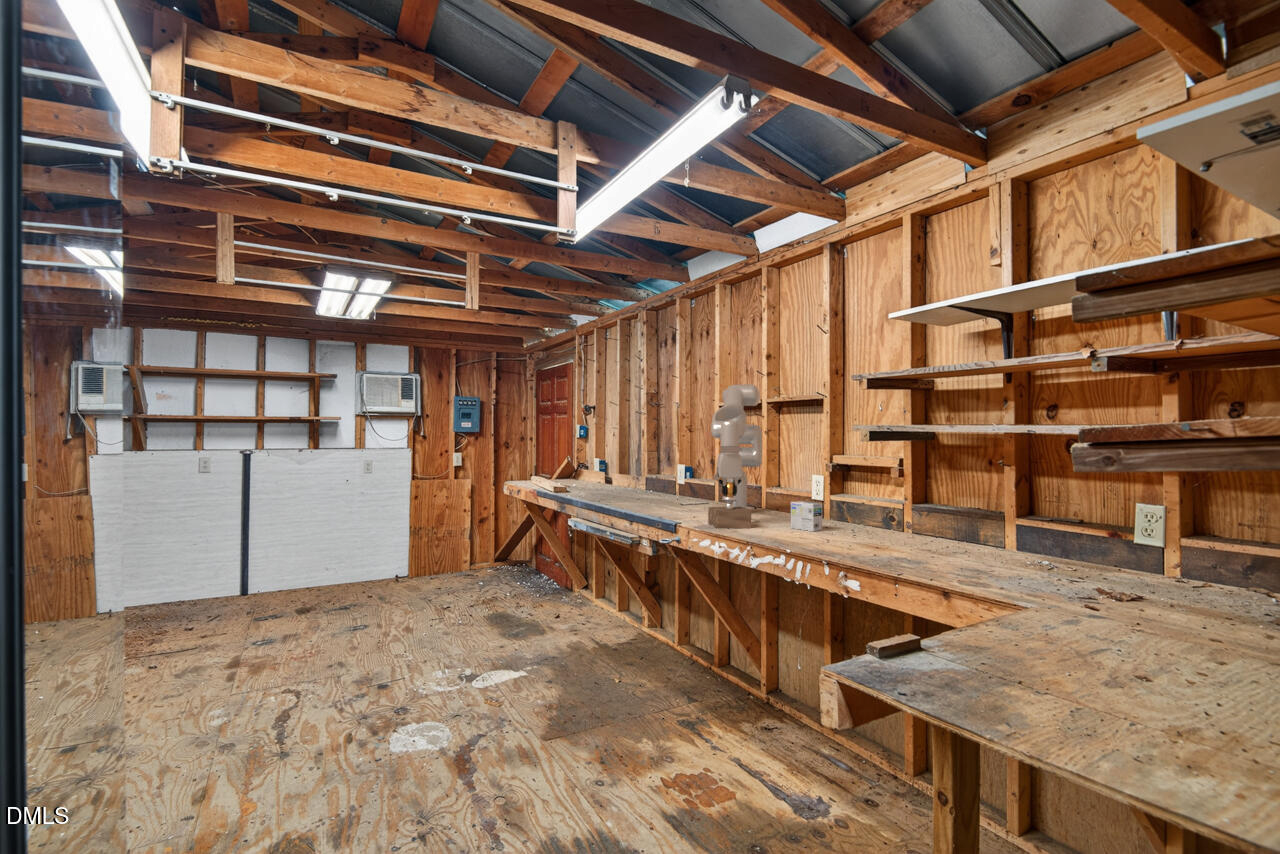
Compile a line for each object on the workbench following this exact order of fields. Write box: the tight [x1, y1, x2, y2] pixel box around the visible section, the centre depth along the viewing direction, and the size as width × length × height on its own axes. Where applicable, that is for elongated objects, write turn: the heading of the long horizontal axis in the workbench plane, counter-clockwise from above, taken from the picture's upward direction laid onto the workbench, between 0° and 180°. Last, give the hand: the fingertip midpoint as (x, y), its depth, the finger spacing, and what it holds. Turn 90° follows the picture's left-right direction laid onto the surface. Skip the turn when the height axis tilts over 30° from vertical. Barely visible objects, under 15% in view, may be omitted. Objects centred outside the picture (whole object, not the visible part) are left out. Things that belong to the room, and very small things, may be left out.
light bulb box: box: [790, 500, 823, 532], centre depth 236 cm, size 11×7×11 cm, turn 42°
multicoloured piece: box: [722, 481, 736, 510], centre depth 244 cm, size 6×6×14 cm
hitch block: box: [707, 506, 752, 529], centre depth 244 cm, size 14×14×7 cm
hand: (729, 495), depth 244 cm, fingers closed on multicoloured piece, 3 cm apart
